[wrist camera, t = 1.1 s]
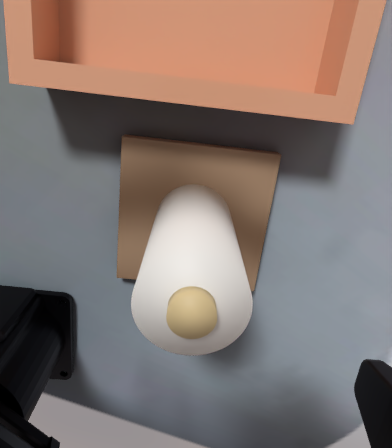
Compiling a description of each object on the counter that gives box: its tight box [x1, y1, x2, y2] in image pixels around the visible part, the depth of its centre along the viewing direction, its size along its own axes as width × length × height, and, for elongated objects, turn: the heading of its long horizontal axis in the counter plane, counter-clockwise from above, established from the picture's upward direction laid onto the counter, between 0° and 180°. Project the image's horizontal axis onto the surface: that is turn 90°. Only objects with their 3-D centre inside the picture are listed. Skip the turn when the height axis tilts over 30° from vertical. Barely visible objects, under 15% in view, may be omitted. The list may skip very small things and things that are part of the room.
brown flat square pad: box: [117, 135, 281, 291], centre depth 19 cm, size 8×8×1 cm
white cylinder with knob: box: [131, 184, 253, 356], centre depth 15 cm, size 4×4×9 cm
